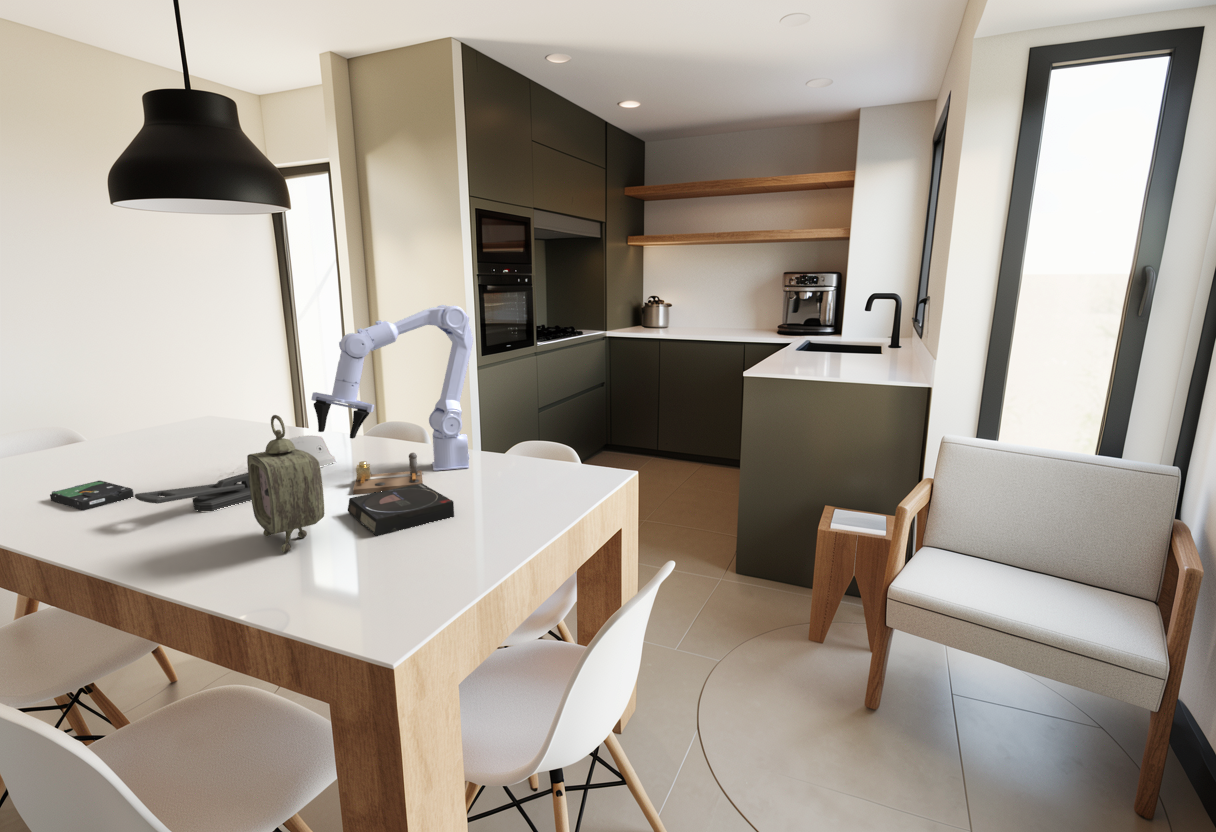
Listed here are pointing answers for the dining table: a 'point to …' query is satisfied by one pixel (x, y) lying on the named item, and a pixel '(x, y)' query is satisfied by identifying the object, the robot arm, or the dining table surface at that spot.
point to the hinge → (314, 448)
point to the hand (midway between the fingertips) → (336, 434)
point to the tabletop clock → (285, 487)
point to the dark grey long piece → (206, 494)
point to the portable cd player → (400, 508)
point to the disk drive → (91, 495)
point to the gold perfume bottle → (363, 471)
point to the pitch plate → (390, 479)
